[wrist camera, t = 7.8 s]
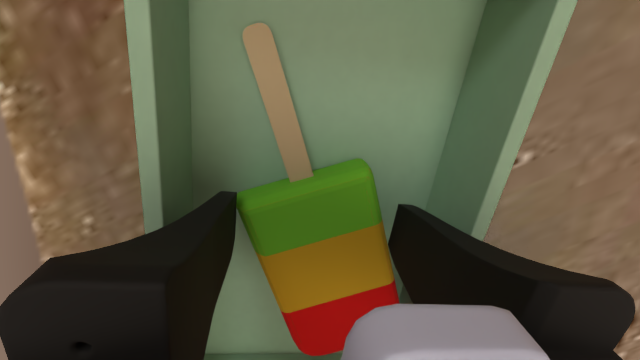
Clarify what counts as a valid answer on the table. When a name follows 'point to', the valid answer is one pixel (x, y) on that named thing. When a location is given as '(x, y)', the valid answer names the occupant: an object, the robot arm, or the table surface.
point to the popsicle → (314, 225)
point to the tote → (333, 116)
